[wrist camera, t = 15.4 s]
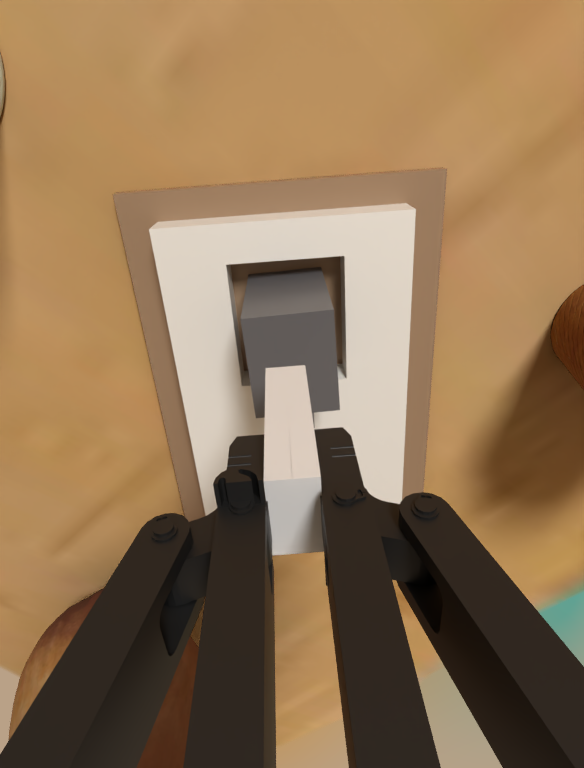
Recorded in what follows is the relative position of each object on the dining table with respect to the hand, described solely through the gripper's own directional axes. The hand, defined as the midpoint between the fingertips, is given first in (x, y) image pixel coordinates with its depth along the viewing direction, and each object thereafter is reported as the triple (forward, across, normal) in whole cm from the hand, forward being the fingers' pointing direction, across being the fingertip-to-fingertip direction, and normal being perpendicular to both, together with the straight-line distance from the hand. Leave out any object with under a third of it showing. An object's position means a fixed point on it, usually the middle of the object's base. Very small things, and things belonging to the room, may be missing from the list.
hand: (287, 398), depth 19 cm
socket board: (+11, 0, -6) cm, 13 cm away
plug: (+10, 0, 0) cm, 10 cm away
